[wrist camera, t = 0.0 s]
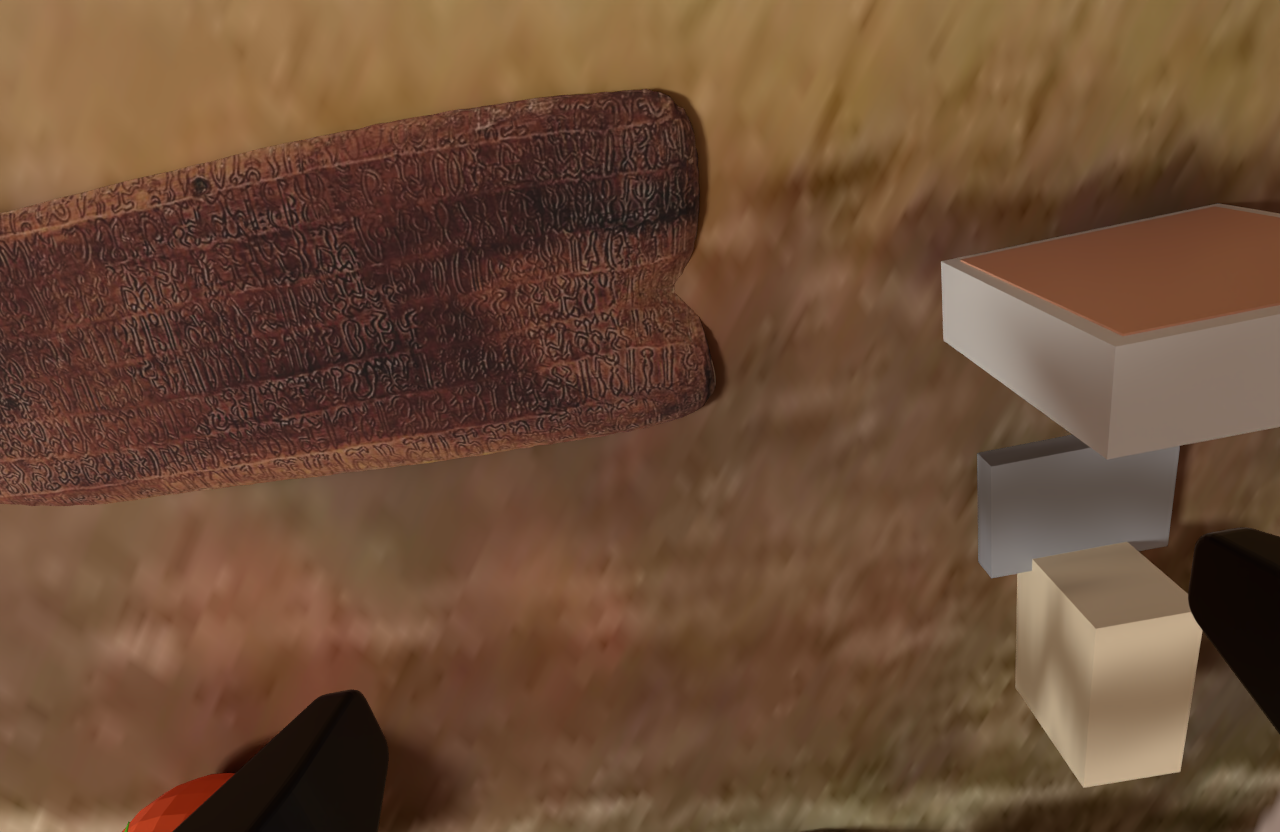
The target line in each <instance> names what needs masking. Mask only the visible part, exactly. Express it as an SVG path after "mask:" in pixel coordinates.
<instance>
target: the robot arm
mask: <svg viewBox="0 0 1280 832" xmlns="http://www.w3.org/2000/svg"><path fill="white" fill-rule="evenodd" d="M1188 602H1189V607H1190V610H1191V613H1192V615H1193V617H1194V619H1195V620H1196V622H1197V624H1198V625H1199V626H1200V628H1201V629H1202V630H1203V632H1204V633H1205V634H1206V636H1207V637H1208V638H1209V640H1210V641H1211V642H1212V644H1213V645H1214V646H1215V648H1216V649H1217V651H1218V652H1219V653H1220V655H1221V656H1222V657H1223V659H1224V660H1225V661H1226V663H1227V664H1228V665H1229V667H1230V668H1231V669H1232V671H1233V672H1234V673H1235V675H1236V676H1237V677H1238V679H1239V680H1240V681H1241V683H1242V684H1243V686H1244V687H1245V688H1246V690H1247V691H1248V692H1249V694H1250V695H1251V696H1252V698H1253V699H1254V700H1255V702H1256V703H1257V704H1258V706H1259V707H1260V708H1261V710H1262V711H1263V712H1264V714H1265V715H1266V716H1267V718H1268V719H1269V721H1270V722H1271V723H1272V725H1273V726H1274V727H1275V729H1276V730H1277V731H1278V733H1279V734H1280V537H1279V536H1275V535H1272V534H1269V533H1265V532H1262V531H1259V530H1255V529H1251V528H1234V529H1228V530H1223V531H1217V532H1212V533H1207V534H1205V535H1203V536H1201V537H1200V538H1199V540H1198V541H1197V542H1196V545H1195V549H1194V556H1193V563H1192V570H1191V577H1190V584H1189V591H1188ZM388 761H389V753H388V746H387V742H386V739H385V736H384V734H383V732H382V730H381V728H380V726H379V724H378V722H377V720H376V718H375V716H374V714H373V712H372V710H371V708H370V706H369V704H368V702H367V700H366V698H365V697H364V695H363V694H362V693H361V692H359V691H358V690H346V691H340V692H335V693H329V694H325V695H322V696H320V697H318V698H317V699H316V700H314V701H313V702H312V703H311V704H310V705H309V706H308V707H307V708H306V709H305V710H303V711H302V712H301V713H300V714H299V715H298V716H297V717H296V718H295V719H294V720H293V721H292V722H290V723H289V724H288V725H287V726H286V727H285V728H284V729H283V730H282V731H281V732H280V733H279V734H277V735H276V736H275V737H274V738H273V739H272V740H271V741H270V742H269V743H268V744H267V745H266V746H264V747H263V748H262V749H261V750H260V751H259V752H258V753H257V754H256V755H255V756H254V757H253V758H251V759H250V760H249V761H248V762H247V763H246V764H245V765H244V766H243V767H242V768H241V769H240V770H239V771H237V772H236V773H235V774H234V775H233V776H232V777H231V778H230V779H229V780H228V781H227V782H226V783H224V784H223V785H222V786H221V787H220V788H219V789H218V790H217V791H216V792H215V793H214V794H212V795H211V796H210V797H209V798H208V799H207V800H206V801H205V802H204V803H203V804H202V805H201V806H199V807H198V808H197V809H196V810H195V811H194V812H193V813H192V814H191V815H190V816H189V817H188V818H186V819H185V820H184V821H183V822H182V823H181V824H180V825H179V826H178V827H177V828H176V829H175V830H173V831H172V832H378V826H379V819H380V813H381V807H382V800H383V794H384V788H385V781H386V775H387V769H388Z"/></svg>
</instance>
